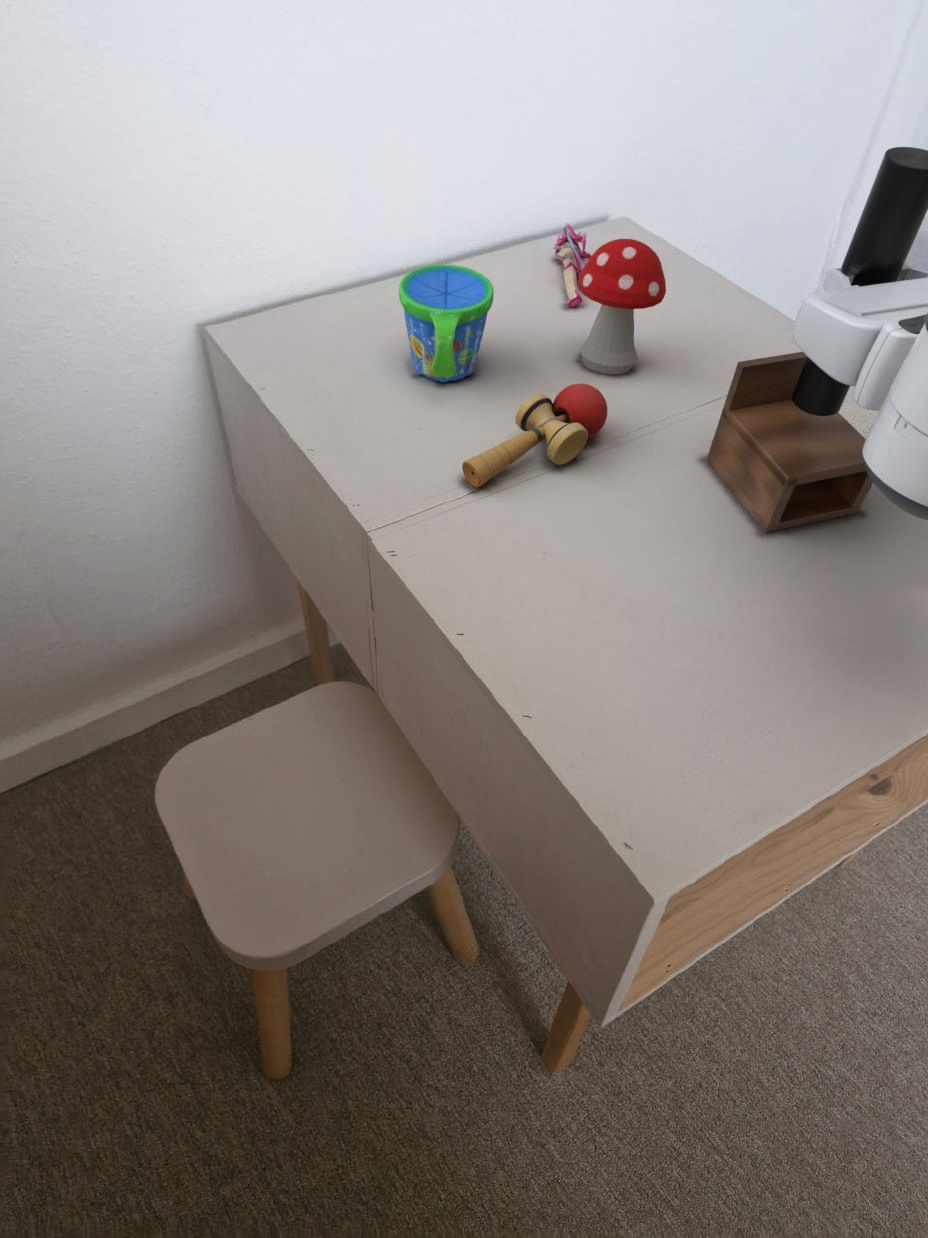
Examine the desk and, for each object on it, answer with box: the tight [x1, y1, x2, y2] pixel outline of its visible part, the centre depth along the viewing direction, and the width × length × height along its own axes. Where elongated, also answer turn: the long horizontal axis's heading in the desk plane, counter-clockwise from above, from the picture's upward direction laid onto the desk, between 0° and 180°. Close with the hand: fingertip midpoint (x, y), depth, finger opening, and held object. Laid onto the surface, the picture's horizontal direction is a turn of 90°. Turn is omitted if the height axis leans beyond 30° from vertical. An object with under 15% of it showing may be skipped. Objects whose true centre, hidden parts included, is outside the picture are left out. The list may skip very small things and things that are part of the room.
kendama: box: [461, 382, 608, 489], centre depth 89 cm, size 8×6×18 cm
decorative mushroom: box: [577, 238, 667, 376], centre depth 98 cm, size 10×9×15 cm
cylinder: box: [792, 146, 928, 416], centre depth 73 cm, size 5×5×22 cm
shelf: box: [706, 351, 874, 533], centre depth 85 cm, size 12×11×12 cm
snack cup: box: [398, 264, 495, 383], centre depth 97 cm, size 16×10×10 cm
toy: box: [553, 222, 593, 308], centre depth 115 cm, size 7×6×15 cm
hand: (861, 272), depth 73 cm, fingers closed on cylinder, 4 cm apart
